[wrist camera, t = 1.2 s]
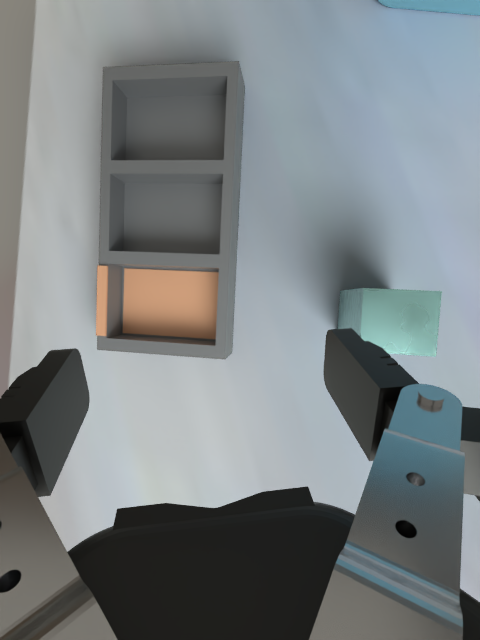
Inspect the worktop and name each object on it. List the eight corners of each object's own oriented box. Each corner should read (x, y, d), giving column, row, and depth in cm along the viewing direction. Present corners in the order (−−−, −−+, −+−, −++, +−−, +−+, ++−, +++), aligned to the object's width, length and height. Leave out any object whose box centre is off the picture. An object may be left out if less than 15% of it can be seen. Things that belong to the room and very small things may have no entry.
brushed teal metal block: (340, 290, 30) (363, 287, 20) (391, 293, 29) (441, 291, 19) (337, 333, 30) (358, 351, 20) (387, 336, 29) (435, 356, 20)
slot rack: (122, 91, 31) (101, 65, 28) (244, 87, 30) (238, 59, 26) (116, 344, 33) (95, 350, 29) (232, 352, 31) (224, 359, 28)
